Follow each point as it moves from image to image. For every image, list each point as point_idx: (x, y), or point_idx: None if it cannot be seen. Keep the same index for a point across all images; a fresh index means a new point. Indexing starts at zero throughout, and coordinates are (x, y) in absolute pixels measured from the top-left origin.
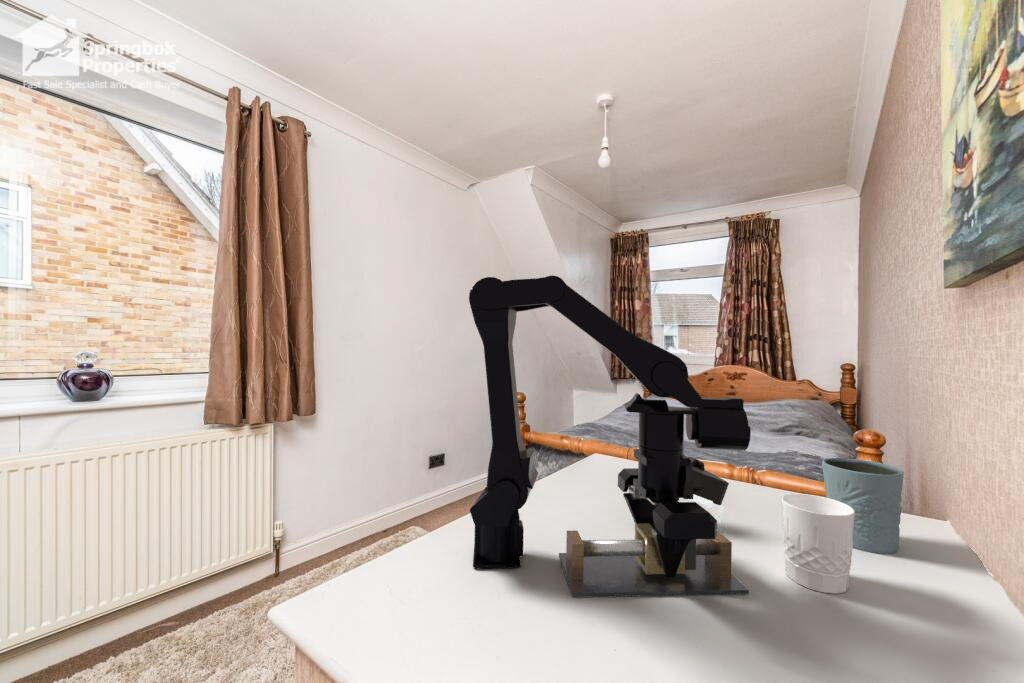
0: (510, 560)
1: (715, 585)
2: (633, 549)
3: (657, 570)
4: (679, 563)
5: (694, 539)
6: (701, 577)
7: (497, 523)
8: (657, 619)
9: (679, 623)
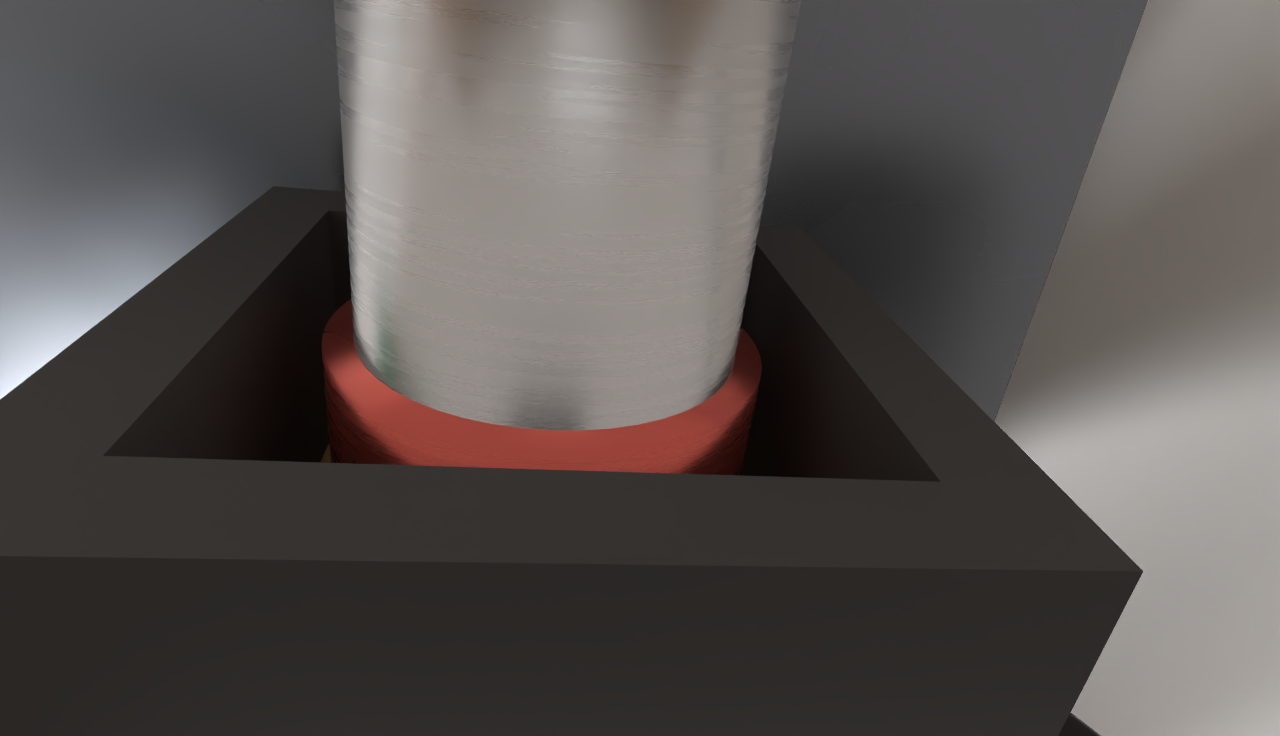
0: None
1: (1011, 24)
2: None
3: None
4: (1070, 718)
5: (1098, 600)
6: (785, 108)
7: None
8: (1119, 727)
9: (1222, 625)
